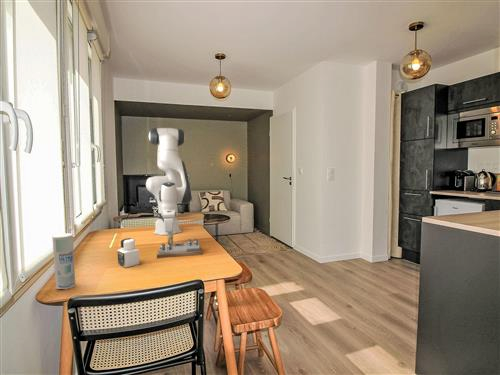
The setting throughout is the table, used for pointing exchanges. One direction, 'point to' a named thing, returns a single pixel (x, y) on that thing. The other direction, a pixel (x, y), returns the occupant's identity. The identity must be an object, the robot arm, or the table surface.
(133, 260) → the medicine bottle
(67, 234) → the spray can
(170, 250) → the chain end left
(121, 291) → the table surface
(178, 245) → the chain end right
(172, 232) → the pin
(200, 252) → the chain base
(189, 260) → the table surface
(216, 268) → the table surface
